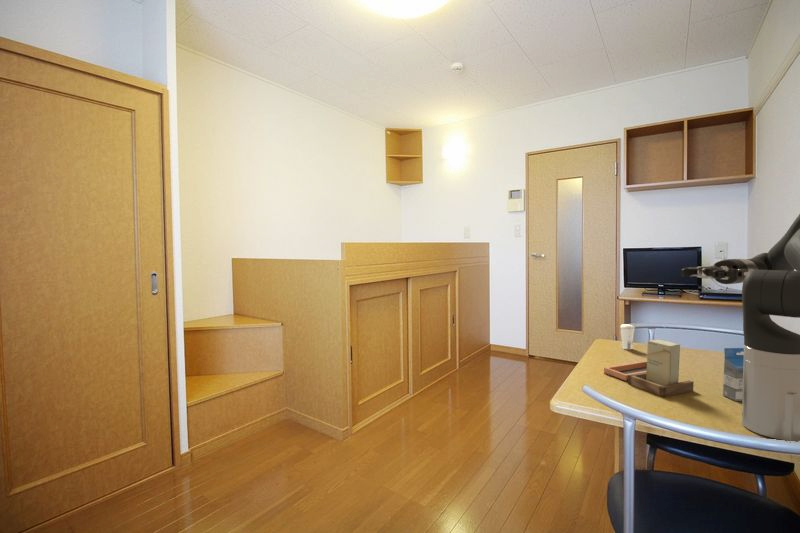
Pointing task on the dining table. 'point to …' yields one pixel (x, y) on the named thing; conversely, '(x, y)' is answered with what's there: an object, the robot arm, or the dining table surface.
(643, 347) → the dining table surface
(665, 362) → the skincare box
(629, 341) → the milkshake
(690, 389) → the walled bay
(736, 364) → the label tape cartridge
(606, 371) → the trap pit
